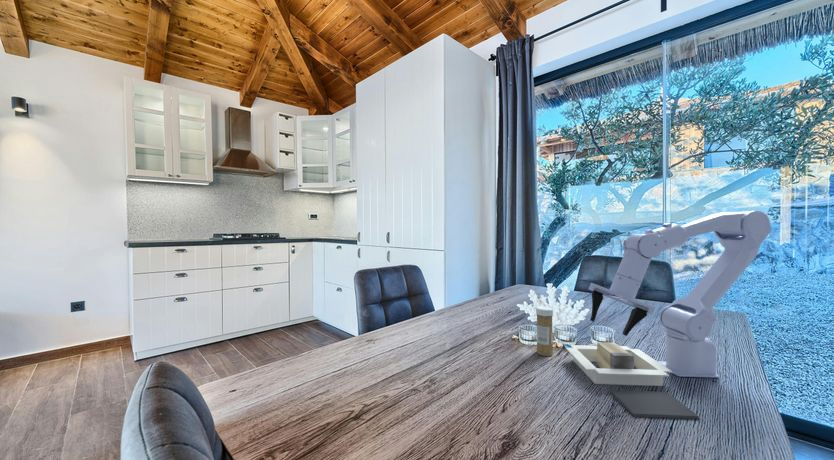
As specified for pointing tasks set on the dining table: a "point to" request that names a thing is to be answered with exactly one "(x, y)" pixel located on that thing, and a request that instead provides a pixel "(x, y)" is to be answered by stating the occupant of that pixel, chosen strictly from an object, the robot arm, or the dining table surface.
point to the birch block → (613, 356)
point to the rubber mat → (653, 404)
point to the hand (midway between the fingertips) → (607, 327)
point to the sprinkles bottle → (544, 330)
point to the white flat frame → (643, 375)
